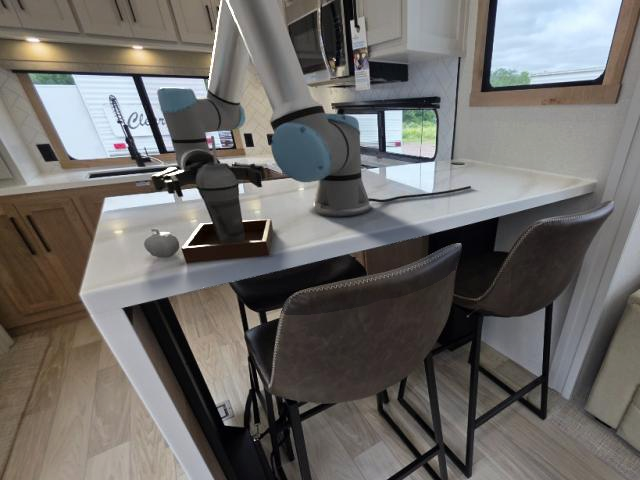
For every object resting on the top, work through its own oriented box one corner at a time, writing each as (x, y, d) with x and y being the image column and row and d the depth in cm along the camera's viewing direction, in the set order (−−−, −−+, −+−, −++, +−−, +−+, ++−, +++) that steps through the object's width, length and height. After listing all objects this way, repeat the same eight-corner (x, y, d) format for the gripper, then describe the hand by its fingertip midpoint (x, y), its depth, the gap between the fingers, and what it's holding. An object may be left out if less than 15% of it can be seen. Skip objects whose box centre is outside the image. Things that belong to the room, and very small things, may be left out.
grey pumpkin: (148, 253, 65) (138, 228, 62) (180, 247, 67) (171, 222, 65) (151, 264, 60) (139, 237, 58) (184, 257, 63) (175, 231, 61)
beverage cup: (213, 240, 70) (181, 135, 59) (250, 235, 73) (226, 134, 62) (214, 252, 64) (180, 138, 54) (254, 246, 67) (228, 137, 57)
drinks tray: (273, 231, 76) (270, 218, 75) (269, 255, 64) (266, 241, 63) (204, 236, 73) (200, 223, 71) (186, 263, 61) (180, 248, 59)
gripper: (261, 178, 83) (290, 195, 69) (143, 191, 71) (147, 215, 56) (254, 146, 80) (284, 156, 65) (128, 154, 67) (129, 169, 52)
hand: (220, 184), depth 60 cm, fingers open, 13 cm apart
